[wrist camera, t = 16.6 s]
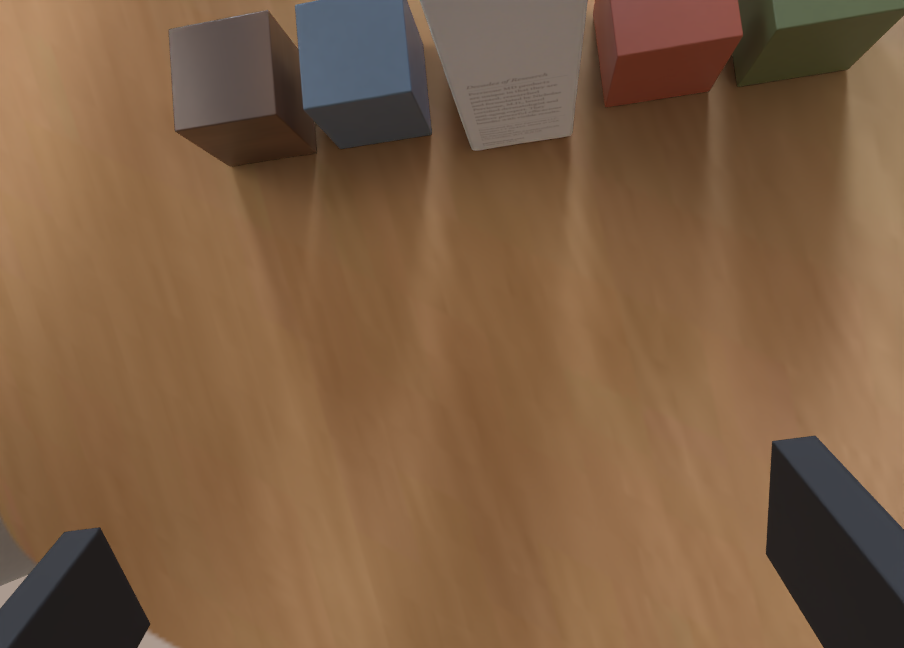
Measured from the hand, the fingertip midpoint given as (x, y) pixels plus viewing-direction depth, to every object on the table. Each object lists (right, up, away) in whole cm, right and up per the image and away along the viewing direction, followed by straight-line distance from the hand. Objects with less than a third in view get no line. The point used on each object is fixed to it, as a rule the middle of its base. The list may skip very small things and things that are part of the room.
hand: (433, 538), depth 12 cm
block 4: (+13, +16, +11) cm, 23 cm away
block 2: (-3, +14, +13) cm, 19 cm away
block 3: (+8, +15, +12) cm, 21 cm away
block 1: (-8, +13, +14) cm, 21 cm away
